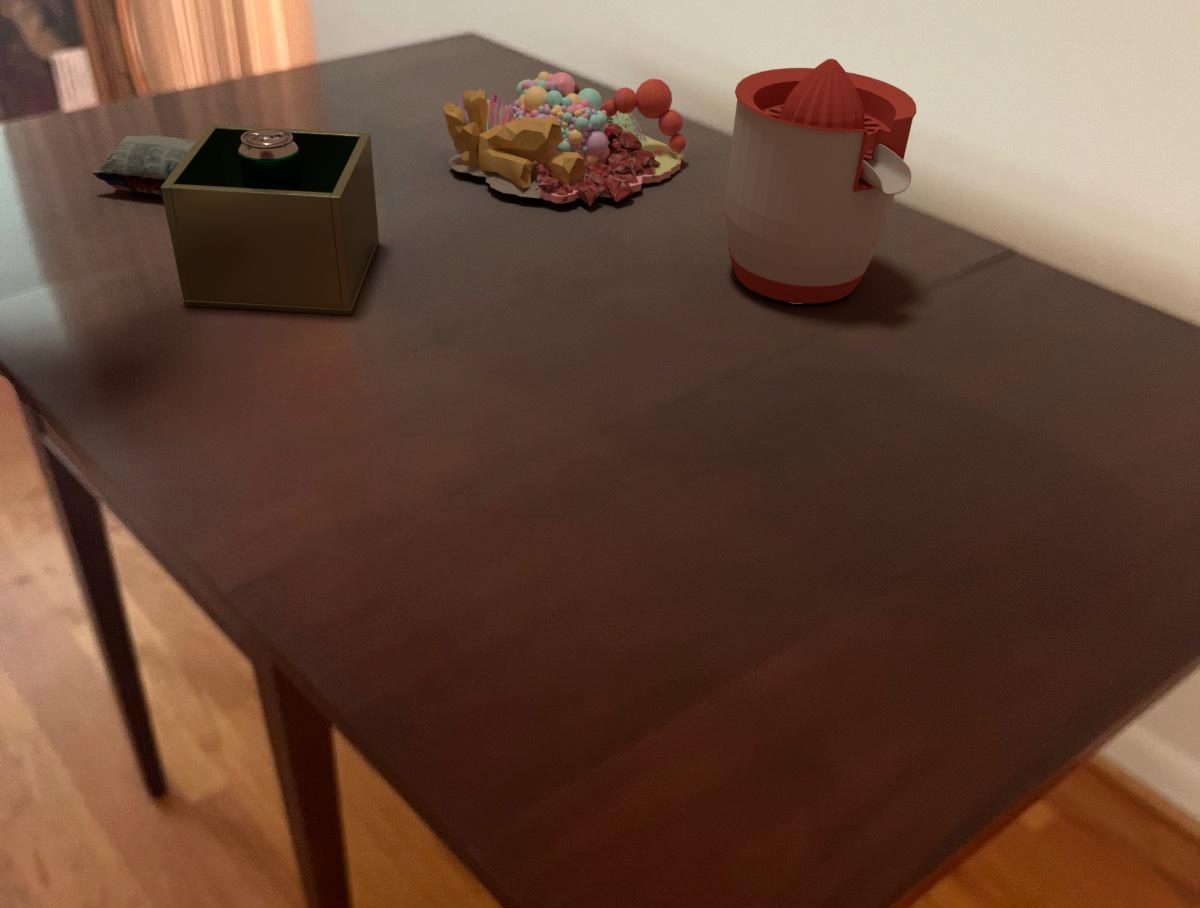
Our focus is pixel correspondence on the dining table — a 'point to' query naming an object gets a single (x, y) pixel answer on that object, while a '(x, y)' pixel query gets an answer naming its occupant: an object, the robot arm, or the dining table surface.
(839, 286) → the citrus juicer
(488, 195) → the dining table surface
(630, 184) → the food platter
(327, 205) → the bin
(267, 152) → the soda can
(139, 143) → the packaged food
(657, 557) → the dining table surface
